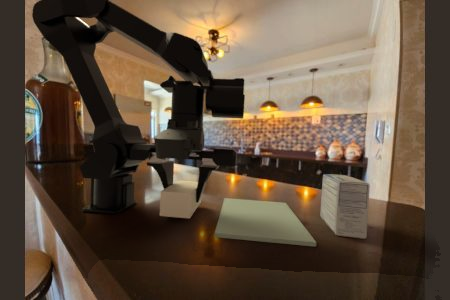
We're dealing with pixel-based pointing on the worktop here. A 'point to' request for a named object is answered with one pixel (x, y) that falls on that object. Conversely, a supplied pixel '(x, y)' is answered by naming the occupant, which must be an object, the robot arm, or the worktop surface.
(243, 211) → the mat
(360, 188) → the medicine box
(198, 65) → the robot arm
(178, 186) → the block
